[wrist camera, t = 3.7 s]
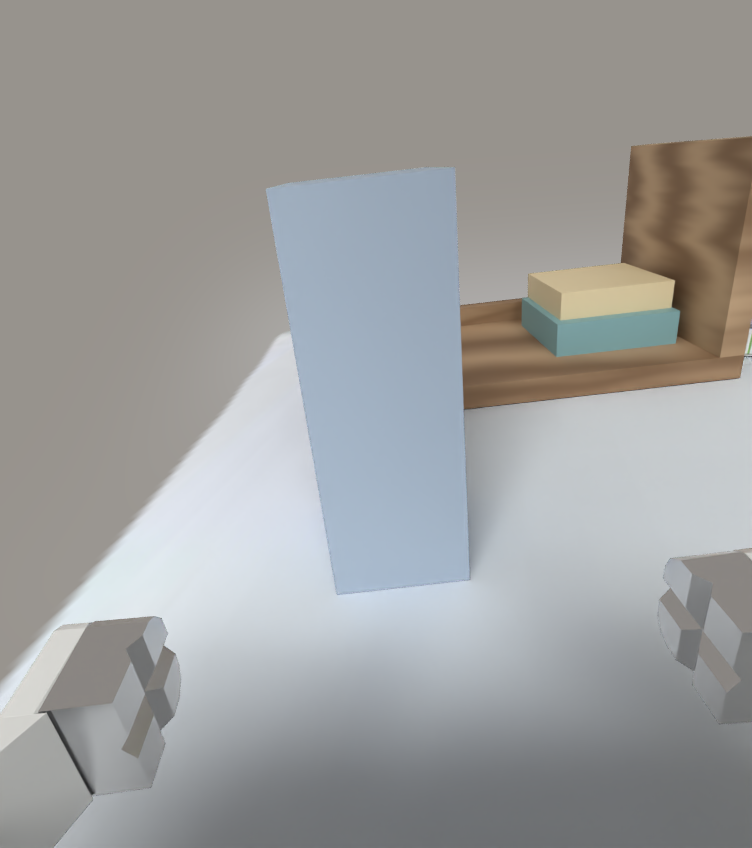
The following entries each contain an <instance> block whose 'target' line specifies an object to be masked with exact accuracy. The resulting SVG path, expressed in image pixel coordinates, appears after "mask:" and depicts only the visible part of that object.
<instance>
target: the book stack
mask: <svg viewBox="0 0 752 848" xmlns="http://www.w3.org/2000/svg"><path fill="white" fill-rule="evenodd" d="M674 284H675V280H672V279H669V278H667V277H664V276H661V275H658V274H655V273H652V272H649V271H646V270H643V269H640V268H638V267H635V266H632V265H629V264H626V263H618V264H610V265H601V266H592V267H583V268H574V269H566V270H556V271H548V272H540V273H530V274H528V297H527V298H522V326H523V327H524V328H525V329H526V330H527V331H528V332H529V333H530V334H531V335H533V336H534V337H535V338H536V339H537V340H538V341H539V342H540V343H541V344H543V345H544V346H545V347H546V348H547V349H548V350H549V351H550V352H551V353H552V354H554V355H555V356H556V357H562V356H570V355H579V354H588V353H597V352H606V351H614V350H623V349H632V348H641V347H650V346H658V345H667V344H676V339H677V331H678V324H679V317H680V311H679V310H677V309H675V308H672V299H673V292H674Z"/></svg>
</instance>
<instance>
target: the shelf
mask: <svg viewBox="0 0 752 848" xmlns="http://www.w3.org/2000/svg"><path fill="white" fill-rule="evenodd" d="M621 263H626V264H629V265H632V266H635V267H638V268H640V269H643V270H646V271H649V272H652V273H655V274H658V275H661V276H664V277H667V278H669V279H672V280H675V284H674V292H673V299H672V308H675V309H677V310H679V311H680V317H679V324H678V331H677V339H676V344H667V345H658V346H650V347H641V348H632V349H623V350H614V351H606V352H597V353H588V354H579V355H570V356H562V357H556V356H555V355H554V354H552V353H551V352H550V351H549V350H548V349H547V348H546V347H545V346H544V345H543V344H541V343H540V342H539V341H538V340H537V339H536V338H535V337H534V336H533V335H531V334H530V333H529V332H528V331H527V330H526V329H525V328H524V327H523V326H522V298H521V299H512V300H502V301H494V302H485V303H477V304H468V305H460V323H461V350H462V377H463V405H464V409H470V408H479V407H488V406H496V405H505V404H514V403H523V402H532V401H540V400H549V399H558V398H567V397H576V396H584V395H593V394H602V393H611V392H620V391H628V390H637V389H646V388H655V387H664V386H672V385H681V384H690V383H699V382H708V381H716V380H725V379H734V378H740V374H741V369H742V364H743V359H744V354H745V349H746V344H747V339H748V334H749V329H750V324H751V319H752V136H750V137H736V138H723V139H711V140H697V141H684V142H671V143H658V144H647V145H638V146H631V155H630V166H629V177H628V189H627V200H626V211H625V222H624V233H623V244H622V257H621Z"/></svg>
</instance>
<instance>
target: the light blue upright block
mask: <svg viewBox="0 0 752 848" xmlns="http://www.w3.org/2000/svg"><path fill="white" fill-rule="evenodd" d="M455 186H456V185H455V168H454V167H430V168H429V167H425V168H416V169H407V170H399V171H390V172H381V173H373V174H364V175H355V176H346V177H338V178H329V179H320V180H312V181H303V182H294V183H287V184H283V185H279V186H275V187H272V188H268V189H266V192H267V198H268V204H269V209H270V215H271V221H272V226H273V233H274V238H275V243H276V250H277V255H278V260H279V266H280V273H281V278H282V284H283V290H284V295H285V301H286V307H287V312H288V318H289V324H290V330H291V335H292V341H293V347H294V353H295V358H296V364H297V370H298V375H299V381H300V387H301V393H302V398H303V404H304V410H305V415H306V421H307V427H308V433H309V438H310V444H311V450H312V455H313V461H314V467H315V473H316V478H317V484H318V490H319V495H320V501H321V507H322V512H323V518H324V524H325V530H326V535H327V541H328V547H329V552H330V558H331V564H332V570H333V575H334V581H335V587H336V592H337V595H340V594H348V593H357V592H366V591H375V590H384V589H392V588H401V587H410V586H419V585H428V584H436V583H445V582H454V581H463V580H470V569H469V542H468V515H467V487H466V460H465V432H464V405H463V377H462V350H461V323H460V297H459V296H460V295H459V268H458V243H457V242H458V241H457V213H456V187H455Z"/></svg>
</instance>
